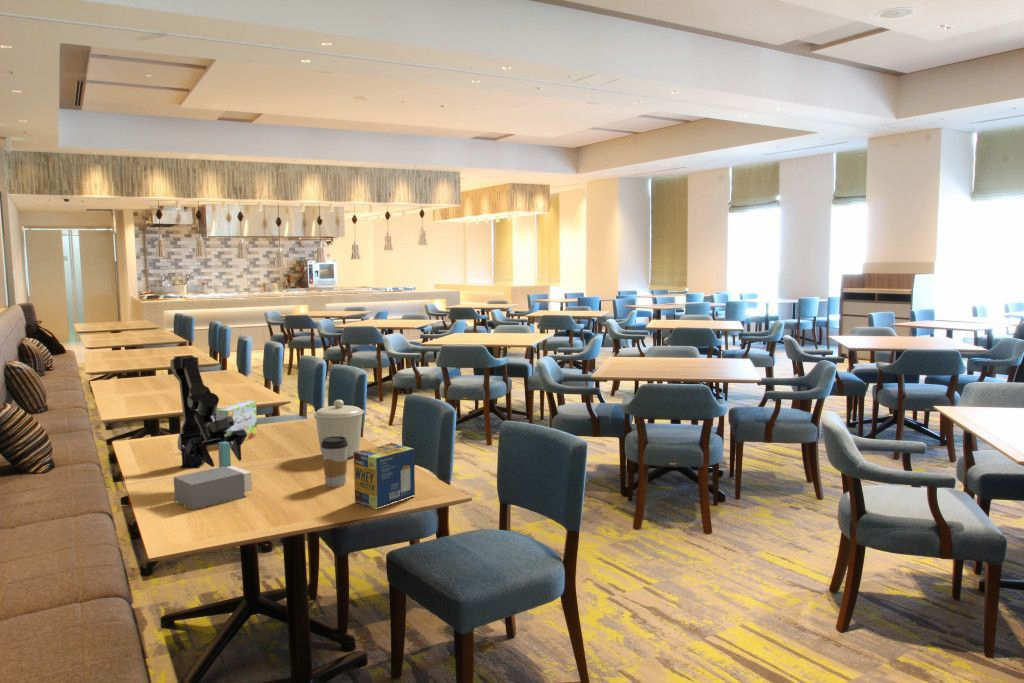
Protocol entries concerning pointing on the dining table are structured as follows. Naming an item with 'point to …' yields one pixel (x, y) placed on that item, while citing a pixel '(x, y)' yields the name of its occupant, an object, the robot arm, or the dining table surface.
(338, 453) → the coffee cup
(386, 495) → the protein box
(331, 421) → the canister
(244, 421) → the snack box
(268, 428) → the dining table surface
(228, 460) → the teal white angled piece
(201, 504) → the carton sleeve
